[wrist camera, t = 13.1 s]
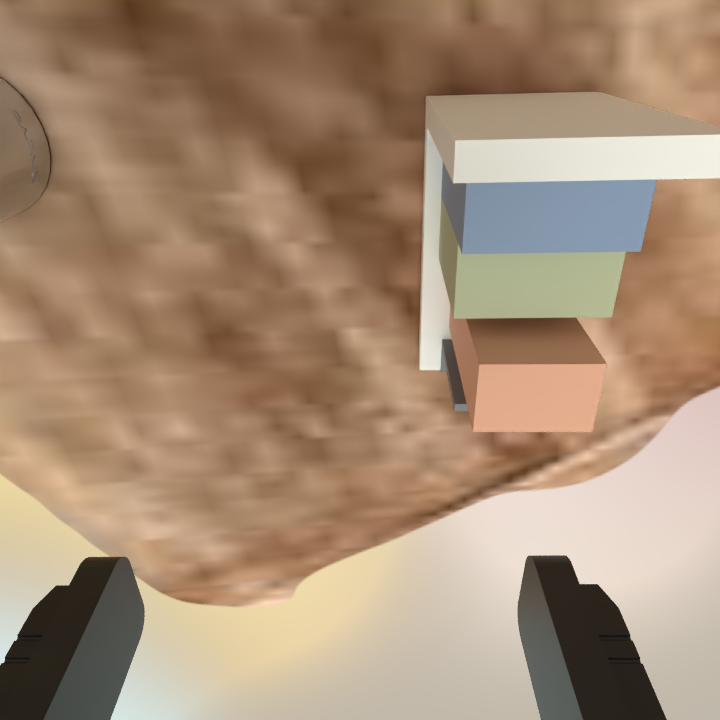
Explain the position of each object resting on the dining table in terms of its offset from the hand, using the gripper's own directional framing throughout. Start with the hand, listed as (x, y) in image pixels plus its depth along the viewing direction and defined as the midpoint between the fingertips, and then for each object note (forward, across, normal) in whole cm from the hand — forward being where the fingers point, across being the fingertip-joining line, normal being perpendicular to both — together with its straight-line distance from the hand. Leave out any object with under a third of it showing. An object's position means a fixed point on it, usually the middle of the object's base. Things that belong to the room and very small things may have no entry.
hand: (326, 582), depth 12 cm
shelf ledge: (+29, -9, +3) cm, 31 cm away
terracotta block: (+28, -9, +6) cm, 30 cm away
